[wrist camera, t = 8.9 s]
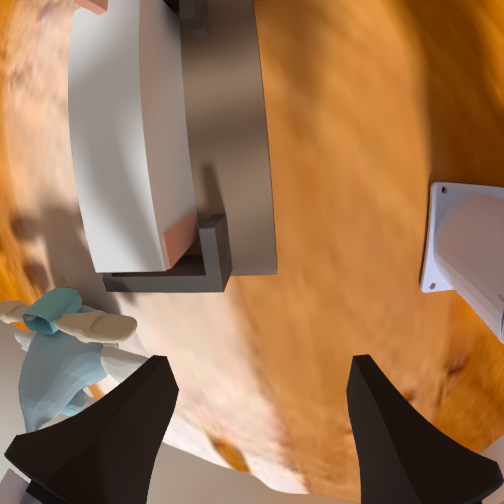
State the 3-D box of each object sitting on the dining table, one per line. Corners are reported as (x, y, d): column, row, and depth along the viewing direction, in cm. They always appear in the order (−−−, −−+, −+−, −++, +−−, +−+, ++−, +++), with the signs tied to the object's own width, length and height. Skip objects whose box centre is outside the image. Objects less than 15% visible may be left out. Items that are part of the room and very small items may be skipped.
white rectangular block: (122, 36, 12) (49, 1, 5) (180, 18, 12) (122, -40, 5) (142, 238, 17) (72, 293, 10) (200, 234, 17) (148, 295, 10)
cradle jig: (83, 40, 13) (49, 29, 9) (252, -9, 12) (243, -43, 8) (109, 271, 20) (79, 297, 16) (277, 266, 18) (275, 299, 14)
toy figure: (62, 354, 25) (-5, 440, 11) (28, 273, 22) (-70, 351, 8) (191, 377, 23) (138, 522, 9) (164, 274, 20) (36, 445, 6)
